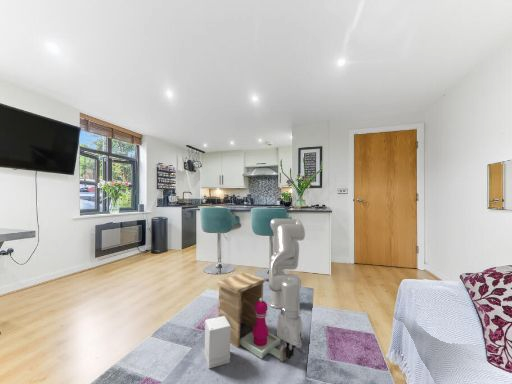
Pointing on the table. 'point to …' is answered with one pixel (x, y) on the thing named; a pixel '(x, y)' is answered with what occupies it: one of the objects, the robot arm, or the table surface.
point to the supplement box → (217, 341)
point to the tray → (264, 350)
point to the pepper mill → (260, 324)
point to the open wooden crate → (239, 302)
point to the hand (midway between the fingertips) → (289, 356)
